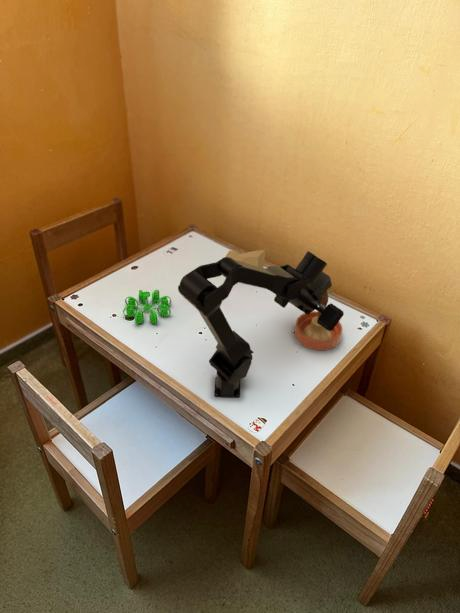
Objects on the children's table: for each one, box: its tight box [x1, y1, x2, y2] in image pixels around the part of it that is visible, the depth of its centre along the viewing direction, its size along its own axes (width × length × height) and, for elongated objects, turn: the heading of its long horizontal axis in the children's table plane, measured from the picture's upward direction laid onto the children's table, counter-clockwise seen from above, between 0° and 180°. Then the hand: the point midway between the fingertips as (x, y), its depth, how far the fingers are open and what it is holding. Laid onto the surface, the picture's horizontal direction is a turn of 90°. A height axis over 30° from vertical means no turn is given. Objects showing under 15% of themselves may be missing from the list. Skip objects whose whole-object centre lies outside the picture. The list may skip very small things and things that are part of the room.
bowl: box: [294, 310, 343, 351], centre depth 136 cm, size 13×13×4 cm
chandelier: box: [122, 289, 172, 325], centre depth 141 cm, size 15×15×7 cm
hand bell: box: [303, 290, 332, 340], centre depth 132 cm, size 8×8×16 cm
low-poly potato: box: [225, 249, 266, 268], centre depth 156 cm, size 15×11×12 cm
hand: (321, 311), depth 131 cm, fingers open, 9 cm apart
